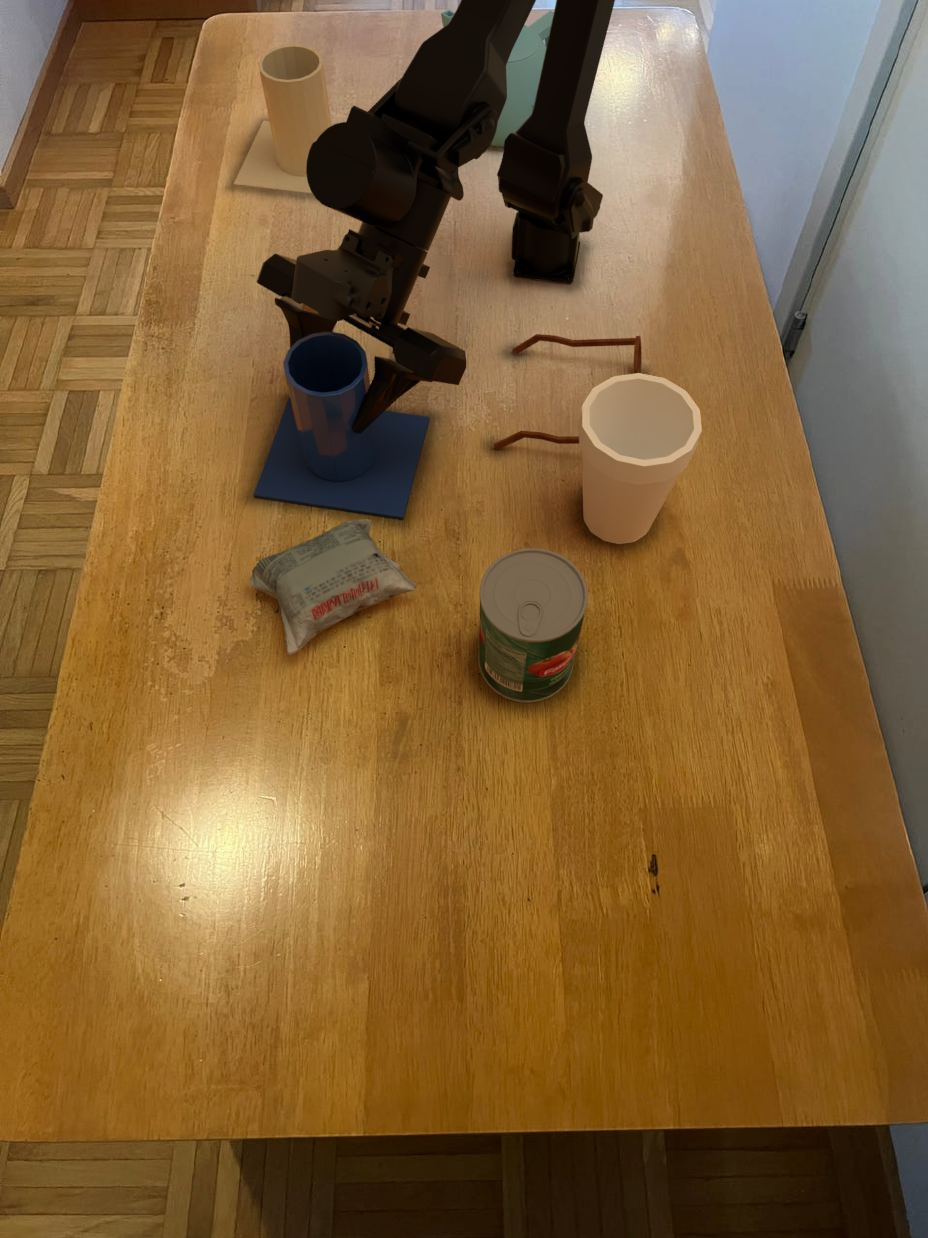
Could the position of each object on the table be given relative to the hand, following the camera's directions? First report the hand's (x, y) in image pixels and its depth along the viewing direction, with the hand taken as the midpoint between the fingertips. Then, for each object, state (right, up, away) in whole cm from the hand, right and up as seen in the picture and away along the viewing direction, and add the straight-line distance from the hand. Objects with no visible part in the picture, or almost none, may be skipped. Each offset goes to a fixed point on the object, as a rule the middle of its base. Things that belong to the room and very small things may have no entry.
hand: (324, 412), depth 81 cm
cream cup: (-6, +36, +28) cm, 46 cm away
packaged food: (+1, -16, 0) cm, 16 cm away
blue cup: (+1, -2, +6) cm, 7 cm away
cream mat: (-6, +36, +28) cm, 46 cm away
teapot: (+17, +43, +32) cm, 56 cm away
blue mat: (+1, -3, +7) cm, 7 cm away
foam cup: (+26, -9, +4) cm, 28 cm away
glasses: (+22, +3, +10) cm, 25 cm away
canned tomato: (+17, -21, -3) cm, 28 cm away
